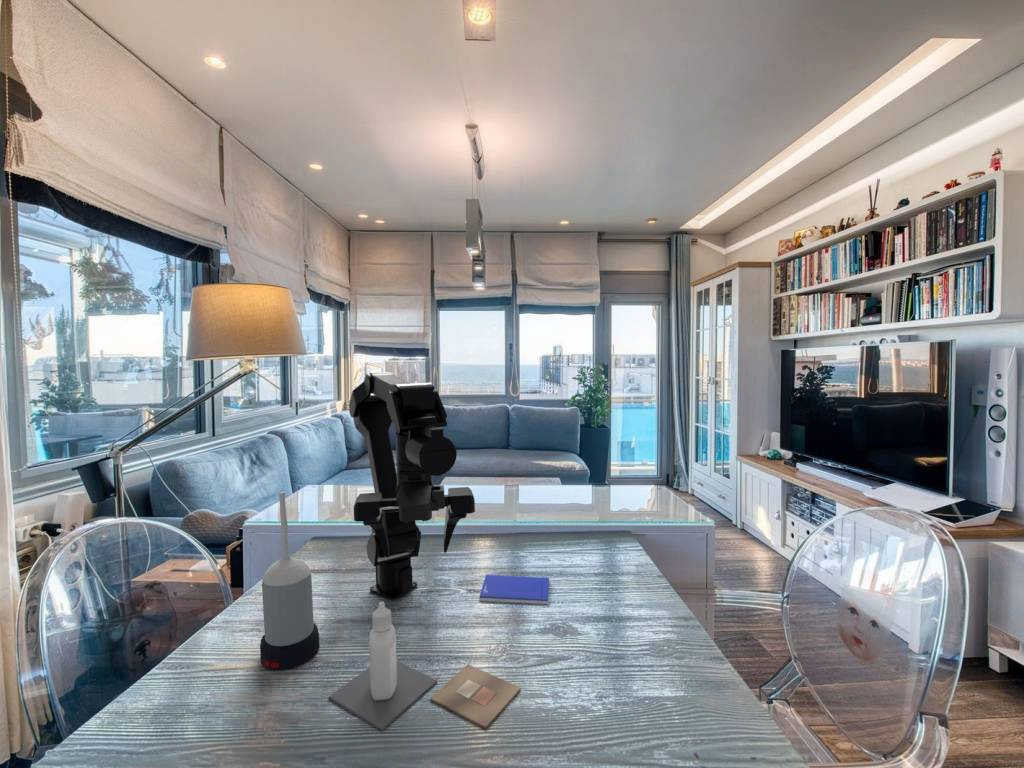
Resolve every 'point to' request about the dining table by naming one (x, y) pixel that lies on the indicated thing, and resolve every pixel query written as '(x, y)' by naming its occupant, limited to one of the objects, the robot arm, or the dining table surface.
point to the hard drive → (515, 589)
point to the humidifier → (287, 609)
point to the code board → (476, 695)
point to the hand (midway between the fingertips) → (416, 554)
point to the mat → (382, 711)
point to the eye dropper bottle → (382, 655)
